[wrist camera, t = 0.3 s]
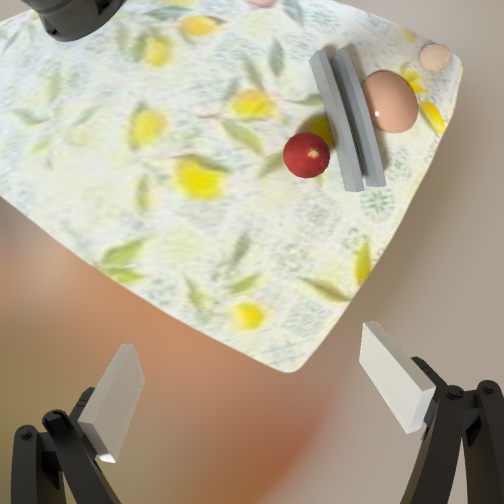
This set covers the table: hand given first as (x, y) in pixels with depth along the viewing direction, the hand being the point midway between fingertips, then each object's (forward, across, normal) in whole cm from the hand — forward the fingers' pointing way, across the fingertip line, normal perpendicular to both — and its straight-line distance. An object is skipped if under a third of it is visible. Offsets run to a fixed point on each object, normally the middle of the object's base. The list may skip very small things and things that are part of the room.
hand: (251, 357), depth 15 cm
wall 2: (+26, +18, +18) cm, 36 cm away
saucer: (+26, +24, +21) cm, 41 cm away
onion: (+26, +9, +12) cm, 31 cm away
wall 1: (+26, +14, +17) cm, 34 cm away
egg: (+26, +33, +30) cm, 52 cm away
